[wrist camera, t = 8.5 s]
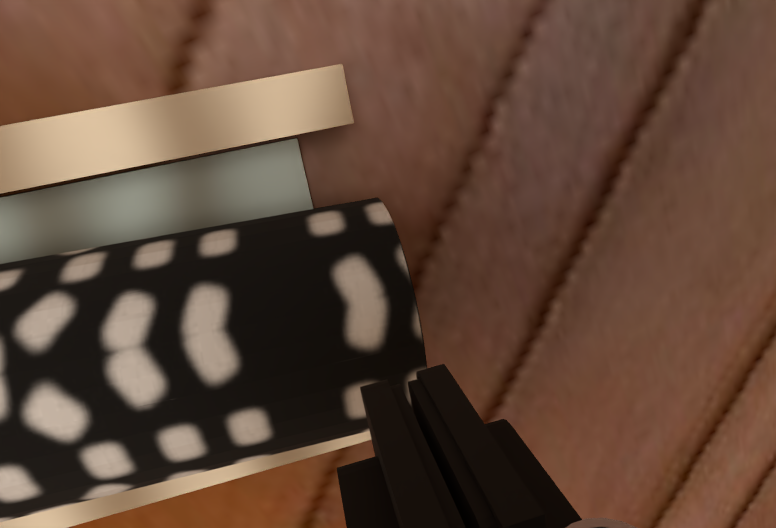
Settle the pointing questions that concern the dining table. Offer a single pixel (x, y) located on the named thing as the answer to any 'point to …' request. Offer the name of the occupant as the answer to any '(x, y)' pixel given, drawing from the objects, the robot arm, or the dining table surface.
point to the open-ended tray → (164, 200)
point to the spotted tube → (197, 350)
